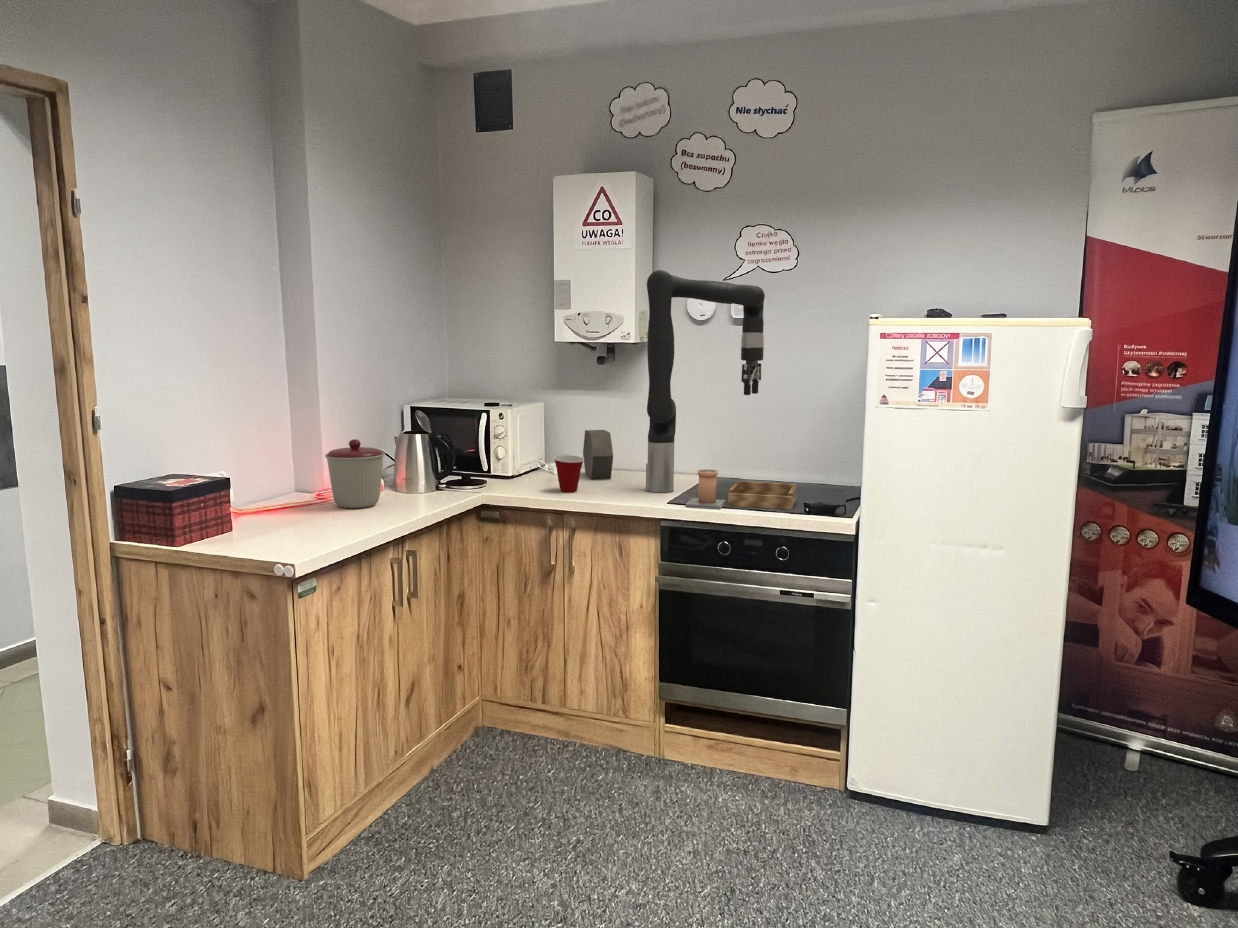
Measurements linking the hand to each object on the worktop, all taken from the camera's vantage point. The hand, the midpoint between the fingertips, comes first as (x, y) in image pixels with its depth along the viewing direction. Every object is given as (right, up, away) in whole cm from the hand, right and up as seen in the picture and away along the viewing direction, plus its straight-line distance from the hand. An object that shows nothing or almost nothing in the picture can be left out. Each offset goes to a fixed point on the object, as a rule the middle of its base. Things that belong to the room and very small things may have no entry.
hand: (751, 394), depth 297 cm
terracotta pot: (-17, -36, -17) cm, 43 cm away
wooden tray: (+2, -36, -13) cm, 39 cm away
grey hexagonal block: (-53, -29, +38) cm, 71 cm away
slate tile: (-17, -37, -17) cm, 44 cm away
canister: (-128, -37, -21) cm, 135 cm away
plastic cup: (-62, -33, +6) cm, 71 cm away
